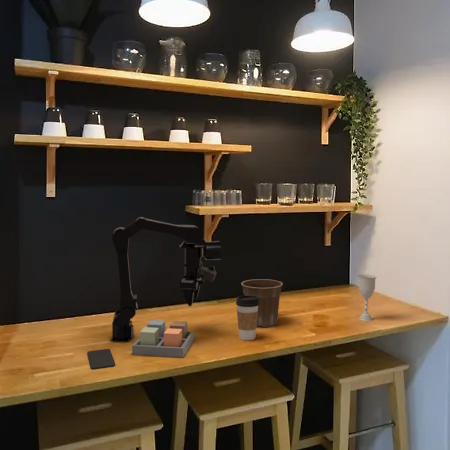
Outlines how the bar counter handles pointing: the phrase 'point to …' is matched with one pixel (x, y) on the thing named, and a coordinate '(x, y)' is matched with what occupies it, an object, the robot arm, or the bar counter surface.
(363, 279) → the chalice
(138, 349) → the grid tray
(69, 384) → the bar counter surface
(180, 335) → the terracotta block
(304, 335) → the bar counter surface
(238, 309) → the coffee cup
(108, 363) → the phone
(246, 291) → the plant pot
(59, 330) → the bar counter surface
